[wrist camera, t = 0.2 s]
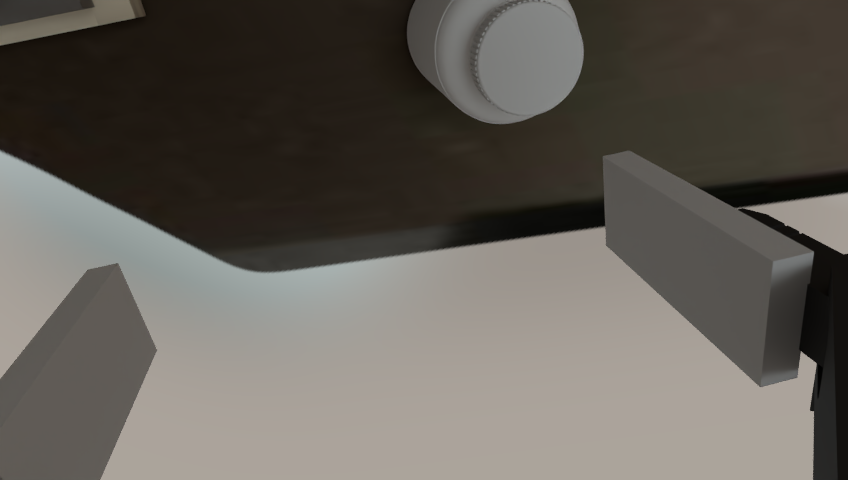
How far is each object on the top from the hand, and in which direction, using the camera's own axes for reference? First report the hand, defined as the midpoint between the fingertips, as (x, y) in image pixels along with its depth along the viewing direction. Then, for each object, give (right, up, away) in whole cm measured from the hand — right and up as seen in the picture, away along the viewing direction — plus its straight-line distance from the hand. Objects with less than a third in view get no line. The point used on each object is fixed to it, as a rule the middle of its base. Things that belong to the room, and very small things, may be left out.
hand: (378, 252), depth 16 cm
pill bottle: (+4, +15, +25) cm, 29 cm away
